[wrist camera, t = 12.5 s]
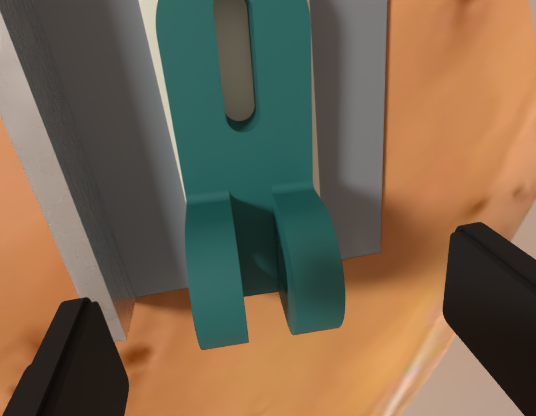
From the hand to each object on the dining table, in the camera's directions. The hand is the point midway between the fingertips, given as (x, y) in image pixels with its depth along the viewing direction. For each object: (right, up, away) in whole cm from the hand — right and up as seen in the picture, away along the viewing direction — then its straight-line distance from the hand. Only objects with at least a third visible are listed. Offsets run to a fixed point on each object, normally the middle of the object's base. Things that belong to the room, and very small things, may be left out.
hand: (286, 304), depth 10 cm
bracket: (-2, +6, +12) cm, 13 cm away
